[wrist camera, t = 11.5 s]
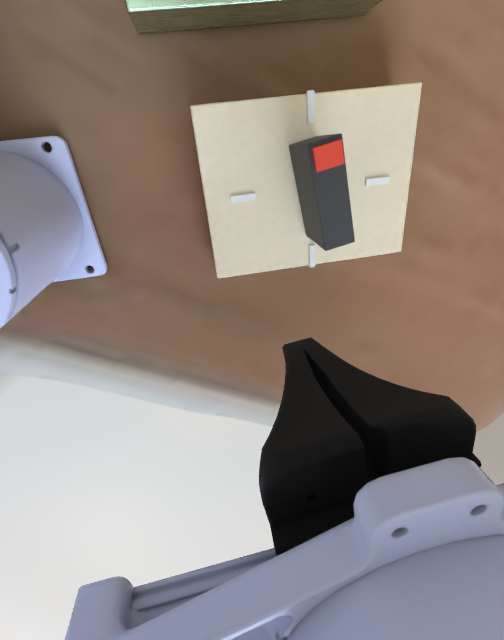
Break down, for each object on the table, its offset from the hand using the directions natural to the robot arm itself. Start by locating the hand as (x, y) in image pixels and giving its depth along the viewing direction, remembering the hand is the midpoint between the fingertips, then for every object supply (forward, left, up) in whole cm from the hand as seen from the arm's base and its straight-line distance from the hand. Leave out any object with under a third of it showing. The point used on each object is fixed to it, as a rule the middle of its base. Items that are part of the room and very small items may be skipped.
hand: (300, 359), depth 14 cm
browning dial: (+3, +6, -7) cm, 10 cm away
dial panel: (+3, +6, -10) cm, 12 cm away
